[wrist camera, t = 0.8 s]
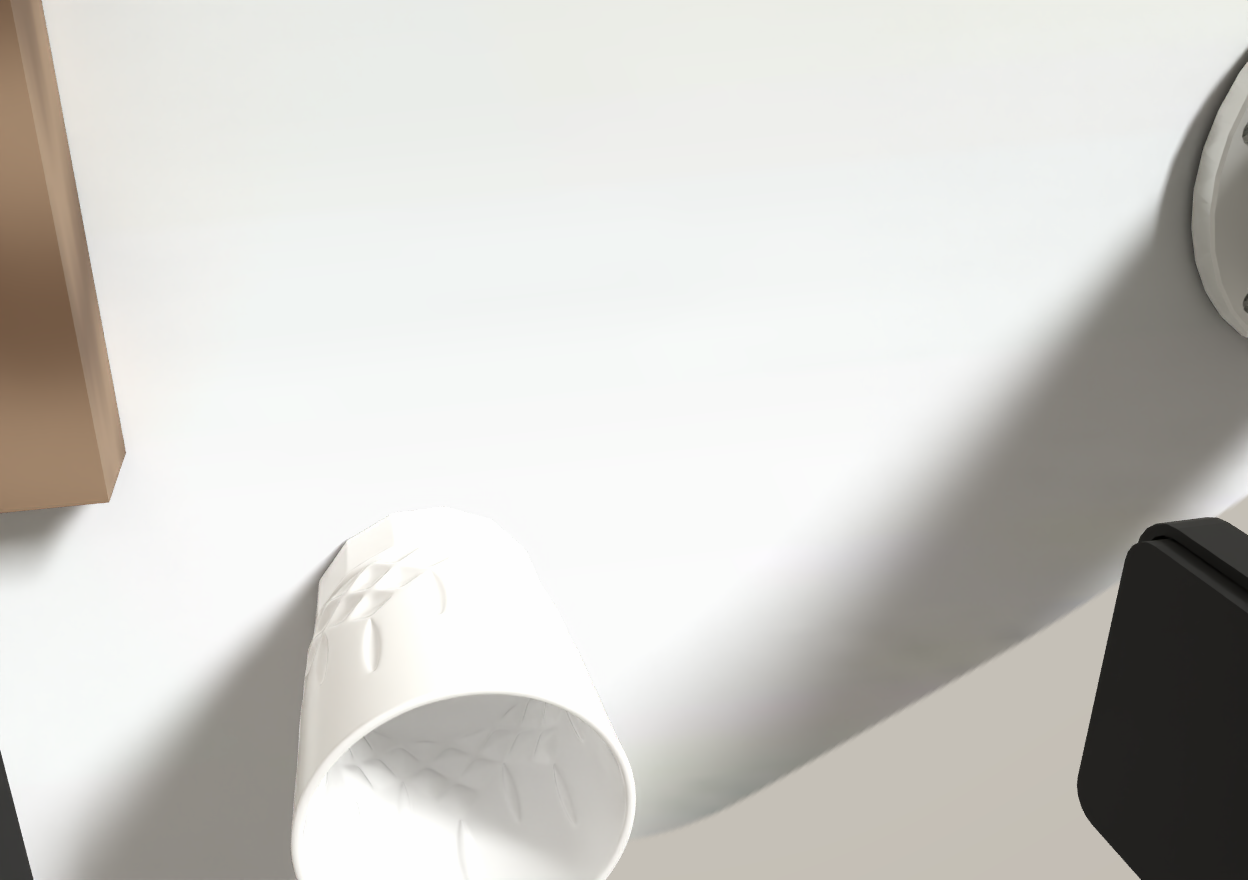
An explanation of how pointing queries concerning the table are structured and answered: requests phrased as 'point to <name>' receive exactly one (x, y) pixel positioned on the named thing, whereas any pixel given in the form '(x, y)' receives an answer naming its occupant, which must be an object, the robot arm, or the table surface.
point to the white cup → (451, 718)
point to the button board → (46, 295)
